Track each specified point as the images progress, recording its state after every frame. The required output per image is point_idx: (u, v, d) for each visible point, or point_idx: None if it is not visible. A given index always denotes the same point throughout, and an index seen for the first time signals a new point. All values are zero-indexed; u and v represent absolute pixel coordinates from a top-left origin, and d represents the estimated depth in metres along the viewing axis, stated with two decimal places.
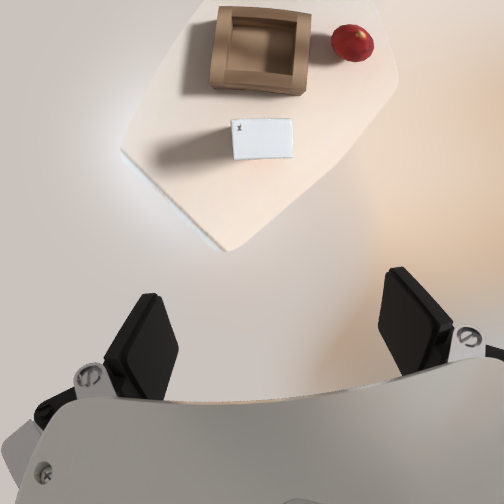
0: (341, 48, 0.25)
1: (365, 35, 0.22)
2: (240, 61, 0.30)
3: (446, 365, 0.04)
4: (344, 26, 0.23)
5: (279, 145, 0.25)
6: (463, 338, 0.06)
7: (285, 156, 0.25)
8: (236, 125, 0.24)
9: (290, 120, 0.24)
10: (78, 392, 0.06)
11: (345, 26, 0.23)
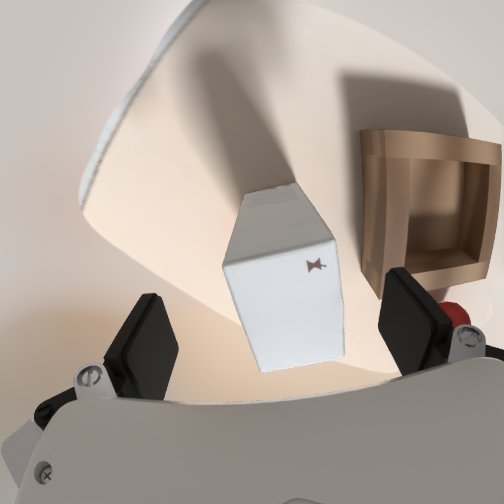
0: None
1: None
2: (412, 175, 0.18)
3: (446, 365, 0.04)
4: (469, 324, 0.18)
5: (282, 350, 0.11)
6: (463, 338, 0.06)
7: (259, 363, 0.11)
8: (321, 255, 0.09)
9: (341, 356, 0.11)
10: (78, 392, 0.06)
11: None
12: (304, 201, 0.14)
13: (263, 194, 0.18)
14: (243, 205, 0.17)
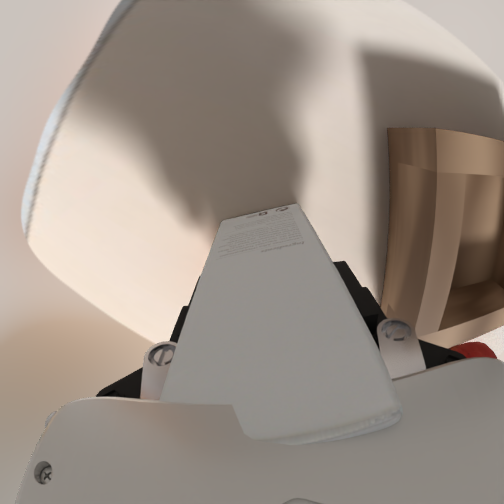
0: None
1: None
2: None
3: (446, 365, 0.04)
4: None
5: None
6: (390, 333, 0.07)
7: None
8: None
9: None
10: (154, 371, 0.06)
11: None
12: (317, 252, 0.08)
13: (247, 225, 0.12)
14: (214, 248, 0.10)
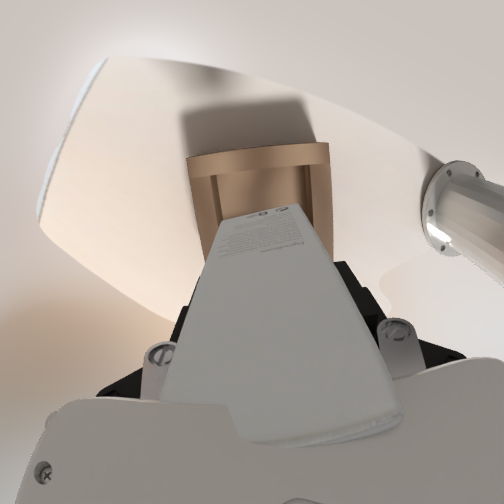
0: None
1: None
2: (241, 184, 0.26)
3: (446, 365, 0.04)
4: None
5: None
6: (390, 333, 0.07)
7: None
8: None
9: None
10: (154, 371, 0.06)
11: None
12: (317, 253, 0.08)
13: (247, 225, 0.12)
14: (214, 248, 0.10)
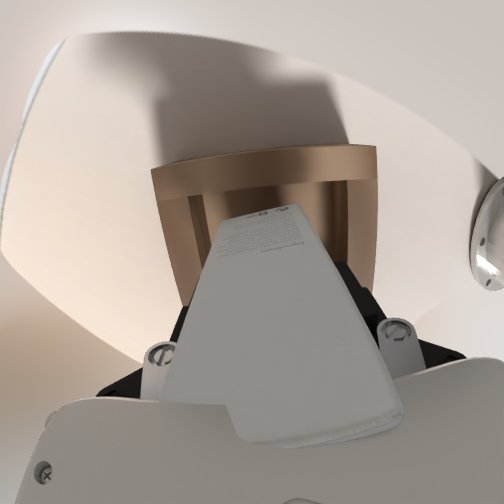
0: None
1: None
2: (239, 205, 0.17)
3: (446, 365, 0.04)
4: None
5: None
6: (390, 333, 0.07)
7: None
8: None
9: None
10: (154, 371, 0.06)
11: None
12: (317, 253, 0.08)
13: (247, 225, 0.12)
14: (214, 248, 0.10)
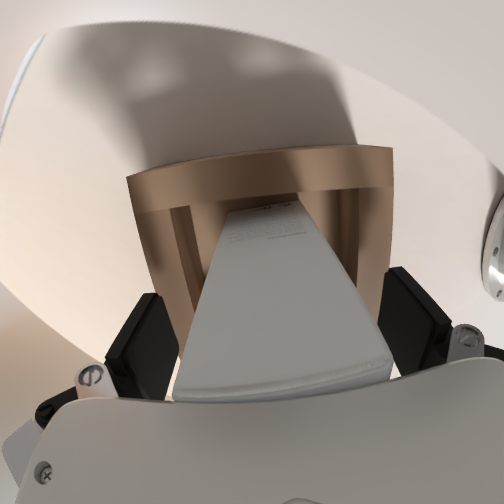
0: None
1: None
2: None
3: (446, 365, 0.04)
4: None
5: None
6: (462, 338, 0.06)
7: None
8: None
9: None
10: (79, 392, 0.06)
11: None
12: (318, 241, 0.09)
13: (253, 217, 0.13)
14: (223, 235, 0.11)
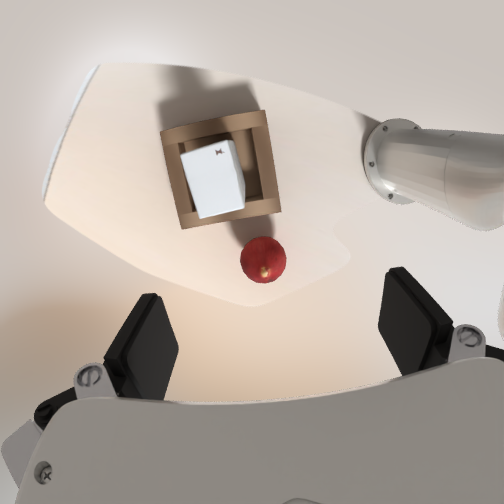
0: (246, 251, 0.33)
1: (267, 277, 0.31)
2: None
3: (446, 365, 0.04)
4: (275, 250, 0.32)
5: (209, 201, 0.22)
6: (463, 338, 0.06)
7: (198, 211, 0.22)
8: (221, 147, 0.20)
9: (242, 206, 0.22)
10: (78, 392, 0.06)
11: (275, 252, 0.32)
12: None
13: None
14: None
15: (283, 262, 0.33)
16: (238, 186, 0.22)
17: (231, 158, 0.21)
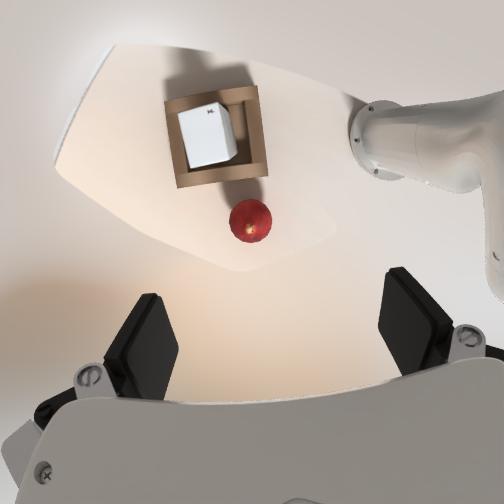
0: (234, 210, 0.35)
1: (251, 233, 0.34)
2: None
3: (446, 365, 0.04)
4: (261, 210, 0.34)
5: (199, 152, 0.24)
6: (463, 338, 0.06)
7: (190, 161, 0.25)
8: (212, 107, 0.23)
9: (227, 158, 0.25)
10: (78, 392, 0.06)
11: (261, 211, 0.34)
12: None
13: None
14: None
15: (268, 222, 0.35)
16: (225, 140, 0.24)
17: (220, 117, 0.23)
